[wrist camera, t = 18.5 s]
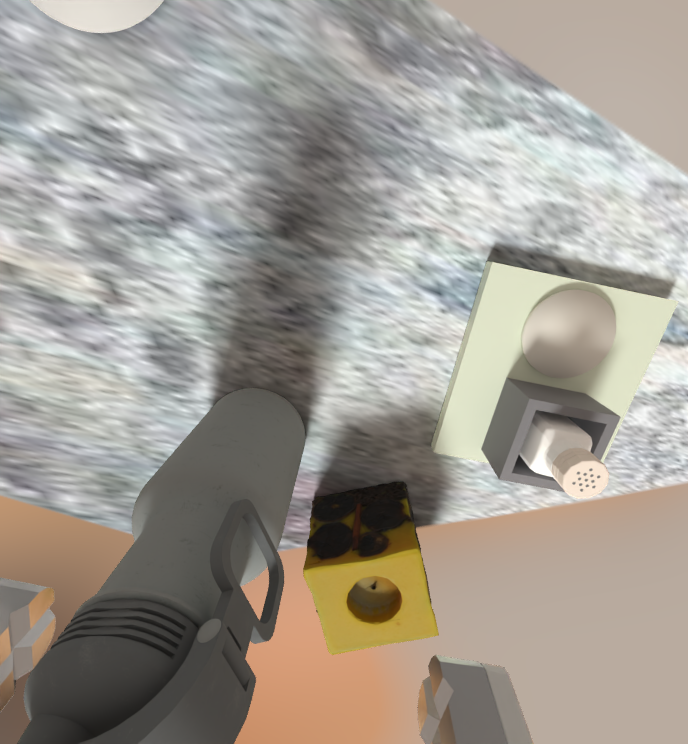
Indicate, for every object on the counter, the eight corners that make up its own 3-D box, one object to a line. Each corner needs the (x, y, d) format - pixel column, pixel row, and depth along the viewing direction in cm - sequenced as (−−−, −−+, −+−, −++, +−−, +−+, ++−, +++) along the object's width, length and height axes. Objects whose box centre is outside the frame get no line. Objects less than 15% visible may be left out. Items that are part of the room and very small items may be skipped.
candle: (333, 570, 45) (327, 658, 35) (310, 496, 42) (296, 570, 32) (422, 554, 44) (441, 641, 34) (405, 477, 41) (420, 549, 31)
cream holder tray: (486, 261, 34) (516, 265, 27) (665, 298, 34) (733, 311, 28) (430, 444, 39) (444, 482, 33) (584, 474, 40) (626, 517, 34)
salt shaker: (542, 443, 37) (602, 508, 28) (501, 436, 37) (548, 498, 28) (557, 405, 36) (625, 460, 27) (515, 397, 36) (569, 450, 27)
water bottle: (288, 370, 37) (119, 689, 11) (324, 456, 40) (262, 880, 13) (192, 402, 39) (-170, 759, 12) (234, 484, 41) (15, 918, 15)
